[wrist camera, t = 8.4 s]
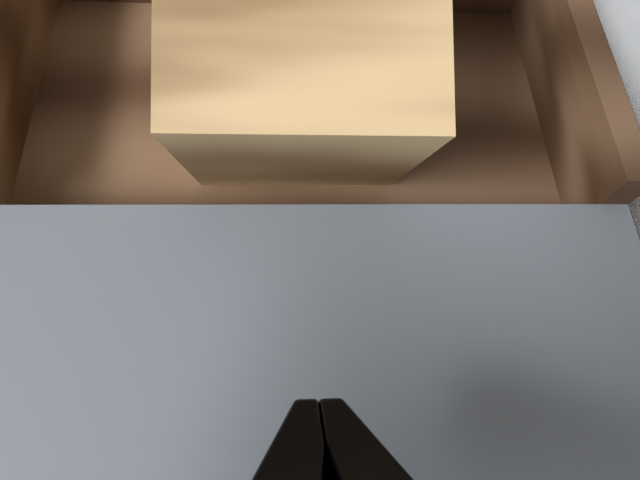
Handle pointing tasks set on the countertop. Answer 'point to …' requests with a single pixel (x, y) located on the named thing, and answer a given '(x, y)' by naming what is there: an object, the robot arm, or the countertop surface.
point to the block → (302, 88)
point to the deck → (319, 337)
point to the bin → (413, 188)
